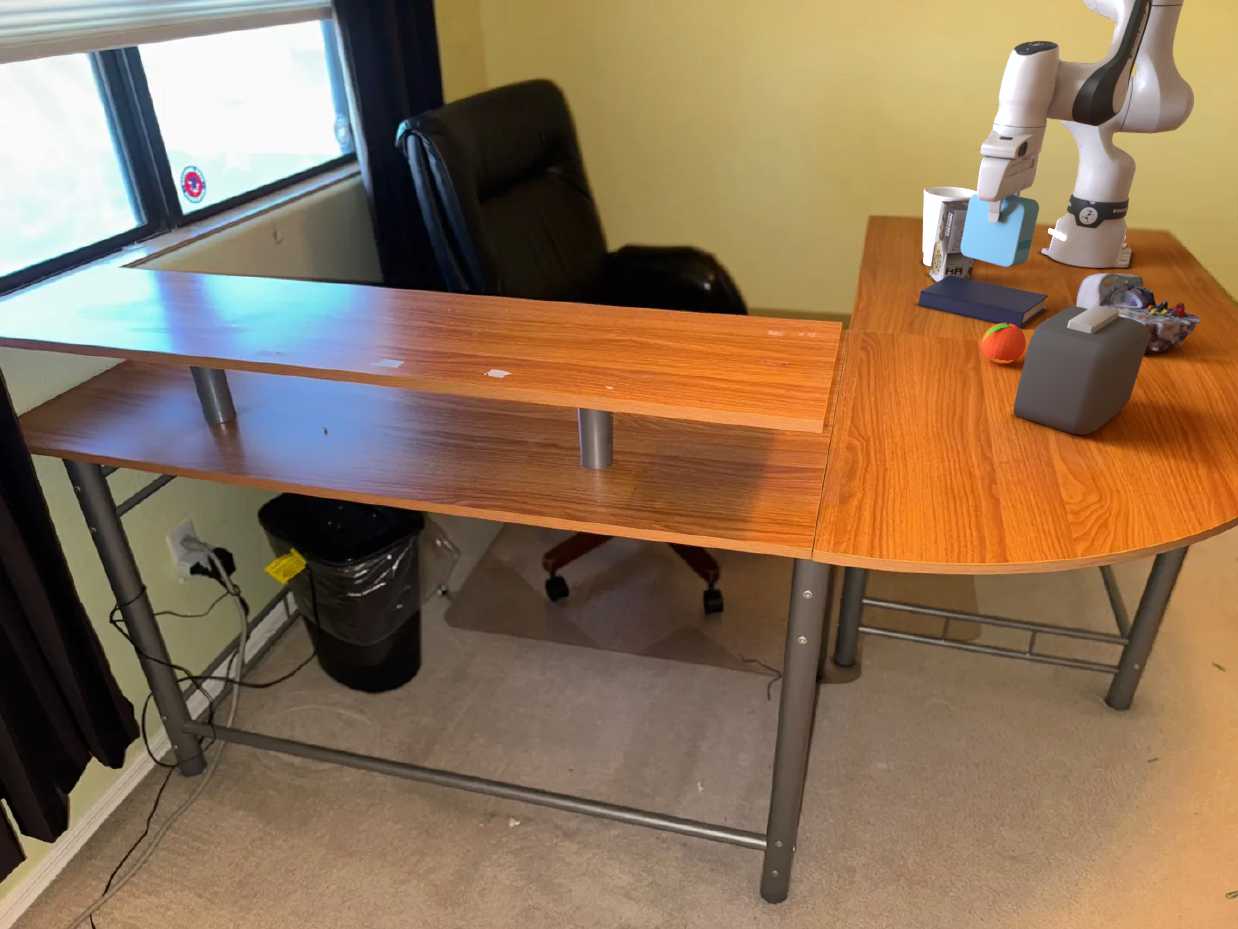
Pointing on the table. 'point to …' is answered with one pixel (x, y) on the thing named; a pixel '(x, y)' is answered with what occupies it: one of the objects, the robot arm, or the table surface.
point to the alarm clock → (1080, 368)
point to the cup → (932, 212)
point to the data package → (1000, 231)
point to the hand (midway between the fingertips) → (1000, 218)
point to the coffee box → (951, 243)
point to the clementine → (1003, 342)
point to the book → (983, 300)
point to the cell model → (1138, 308)
